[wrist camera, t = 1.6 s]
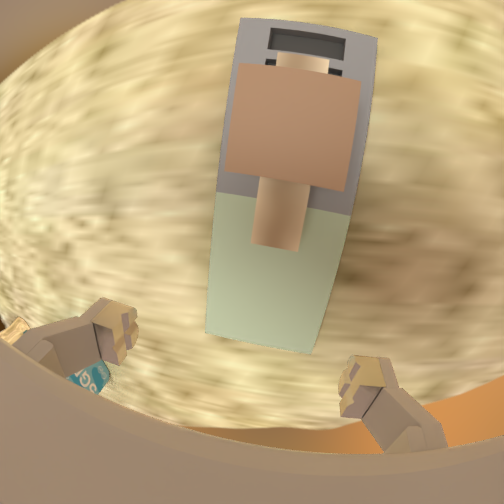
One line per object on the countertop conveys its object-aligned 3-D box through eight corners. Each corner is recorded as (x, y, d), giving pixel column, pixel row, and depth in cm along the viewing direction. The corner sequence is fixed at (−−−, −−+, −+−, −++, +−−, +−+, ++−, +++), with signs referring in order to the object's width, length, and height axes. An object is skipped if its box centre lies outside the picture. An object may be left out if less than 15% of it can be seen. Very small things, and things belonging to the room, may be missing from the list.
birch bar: (325, 71, 21) (329, 59, 18) (298, 236, 27) (297, 252, 24) (281, 64, 22) (277, 52, 18) (257, 229, 28) (250, 243, 24)
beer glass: (36, 346, 49) (-3, 384, 35) (18, 329, 49) (-21, 364, 35) (33, 326, 46) (-11, 365, 32) (14, 309, 46) (-29, 344, 32)
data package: (112, 375, 45) (80, 420, 34) (96, 373, 46) (64, 414, 35) (83, 322, 41) (40, 364, 30) (68, 321, 42) (26, 360, 31)
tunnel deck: (373, 44, 21) (397, 11, 13) (311, 344, 34) (309, 395, 26) (244, 24, 22) (222, -13, 14) (209, 323, 36) (186, 369, 28)
